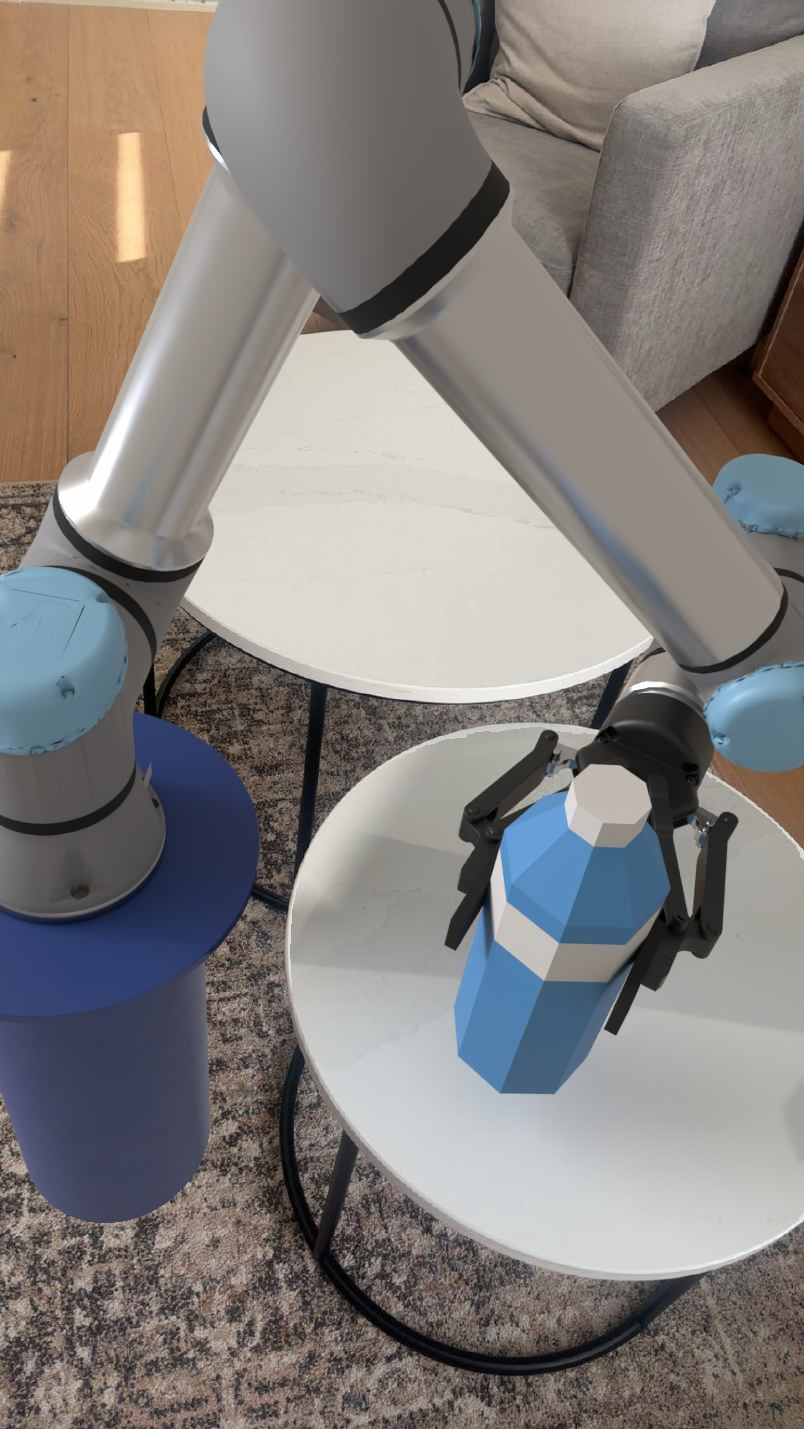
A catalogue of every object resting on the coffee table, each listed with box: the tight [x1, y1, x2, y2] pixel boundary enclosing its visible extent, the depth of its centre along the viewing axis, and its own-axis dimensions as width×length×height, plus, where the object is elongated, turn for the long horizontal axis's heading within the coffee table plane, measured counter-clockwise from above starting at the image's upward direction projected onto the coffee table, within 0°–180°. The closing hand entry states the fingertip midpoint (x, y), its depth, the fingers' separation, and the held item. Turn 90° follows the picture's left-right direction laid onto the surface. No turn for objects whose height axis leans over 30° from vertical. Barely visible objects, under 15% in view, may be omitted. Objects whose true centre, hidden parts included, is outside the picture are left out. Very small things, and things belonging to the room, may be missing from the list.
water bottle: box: [453, 764, 671, 1095], centre depth 64 cm, size 9×9×25 cm
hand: (532, 976), depth 60 cm, fingers closed on water bottle, 9 cm apart
